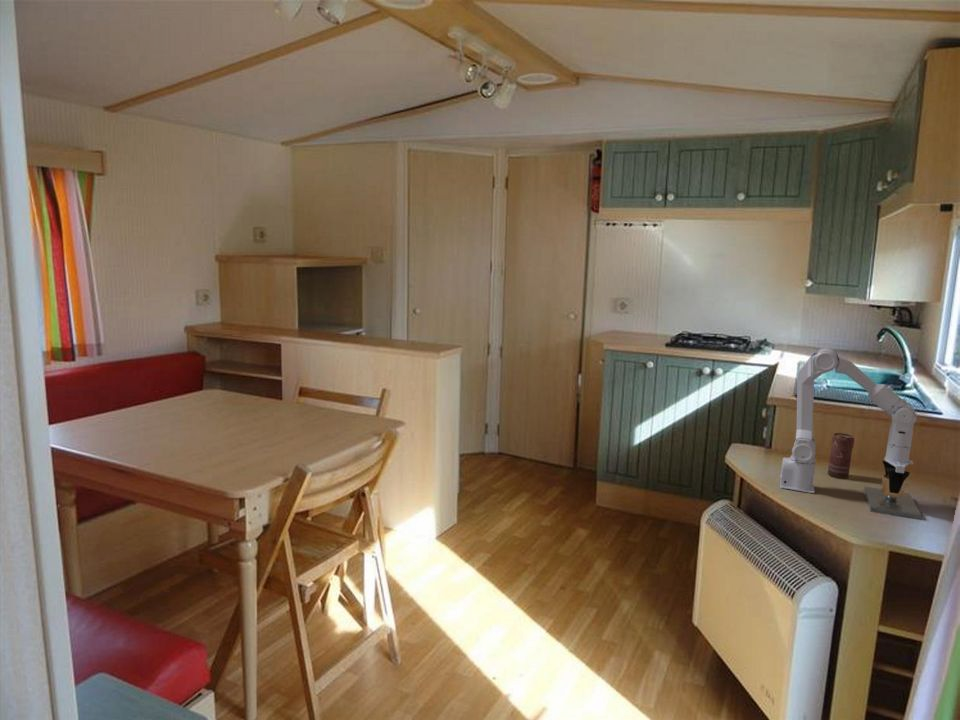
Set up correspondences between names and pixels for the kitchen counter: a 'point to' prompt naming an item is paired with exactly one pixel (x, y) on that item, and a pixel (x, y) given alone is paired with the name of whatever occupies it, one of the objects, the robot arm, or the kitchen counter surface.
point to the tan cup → (886, 490)
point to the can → (840, 455)
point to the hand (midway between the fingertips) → (892, 489)
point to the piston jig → (891, 504)
